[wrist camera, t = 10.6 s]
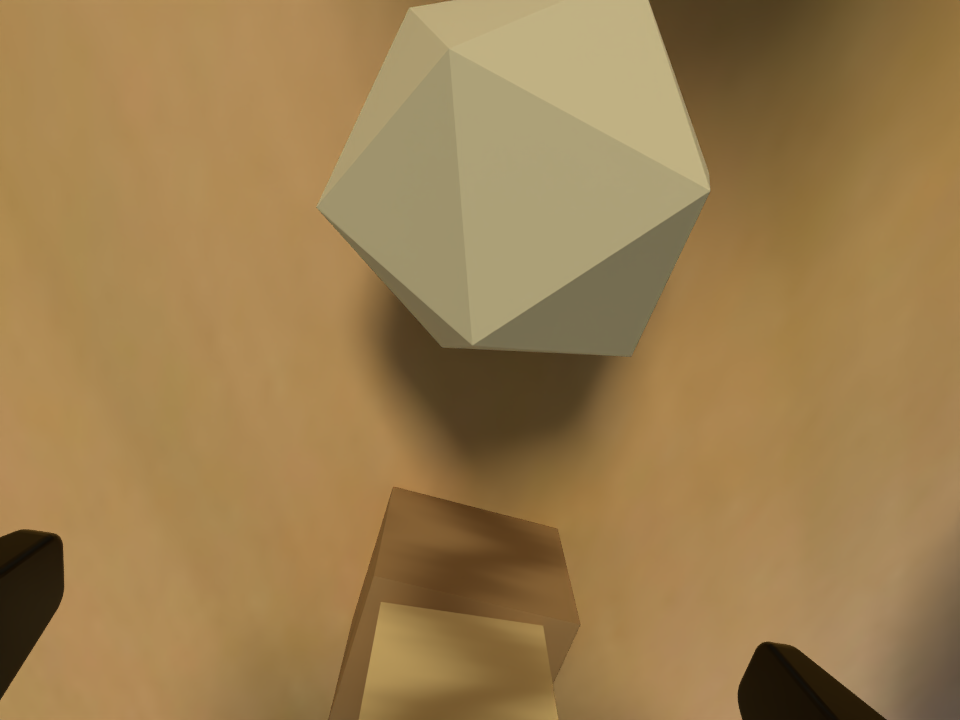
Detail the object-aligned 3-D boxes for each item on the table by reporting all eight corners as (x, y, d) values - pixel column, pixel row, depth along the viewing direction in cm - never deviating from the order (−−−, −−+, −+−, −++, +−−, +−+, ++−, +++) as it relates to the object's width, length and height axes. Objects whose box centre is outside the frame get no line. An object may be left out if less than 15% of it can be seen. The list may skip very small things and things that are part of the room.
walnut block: (557, 526, 23) (580, 624, 18) (504, 651, 25) (513, 769, 20) (393, 484, 22) (373, 575, 17) (353, 616, 24) (325, 731, 19)
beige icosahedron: (459, 361, 21) (721, 461, 13) (216, 244, 15) (440, 303, 8) (553, 148, 22) (856, 129, 14) (354, -47, 16) (692, -260, 8)
